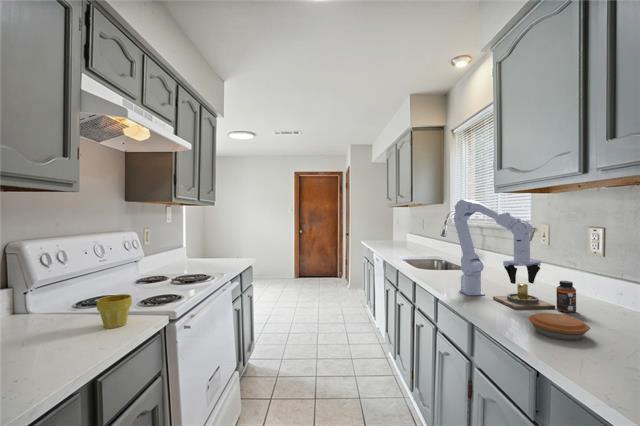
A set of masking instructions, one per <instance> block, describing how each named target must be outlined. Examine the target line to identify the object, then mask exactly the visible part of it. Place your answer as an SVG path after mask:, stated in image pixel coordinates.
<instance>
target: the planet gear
mask: <svg viewBox="0 0 640 426" xmlns="http://www.w3.org/2000/svg"><path fill="white" fill-rule="evenodd" d="M516 286H517V289H516V290H517V293H516V294H517V295H518V296H512V298H516V299H522V300H534V299H532V298H531V297H528V295H529V294H528V292H529V291H528V289H529V288H528V284H526V283H517V284H516Z"/></svg>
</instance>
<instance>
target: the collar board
mask: <svg viewBox="0 0 640 426" xmlns="http://www.w3.org/2000/svg"><path fill="white" fill-rule="evenodd" d="M512 296H518V295H517V293H508V294H507V295H501V296H500V295H499V296H498V295H497V296H494V295H493V296H492V299H493V301H496V302H498V303H500V304H502V305H505V306H507V307H509V308H511V309H513V310H515V311H517V310H551V309H552V310H553V309H554V310H555V309H556V305H555V304H551V303H549V302H547V301H543V300H542V299H539V298H538V296H534V295H530V294H528V297H531V298H532V299H534V300H522V299H516V298H512Z"/></svg>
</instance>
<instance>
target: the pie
mask: <svg viewBox="0 0 640 426" xmlns="http://www.w3.org/2000/svg"><path fill="white" fill-rule="evenodd" d="M528 321H529V322H530V323H531V324H532V326H533V327H534V329H535V331H537V333H539V334H541V335H543V336H545V337H548V338H552V339H557V340H562V341H577V340H581V339H582V337H583V336H584V335H585V334H586V333H587V332H589V331H590V330H591V327H590V326H589V325H588V324H587V323H585V322H583V321H582V320H580V319H578V318H576V317H573V316H570V315H565V314H561V313H553V312H540V313H539V312H538V313H535V314H532V315H529V317H528Z"/></svg>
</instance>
